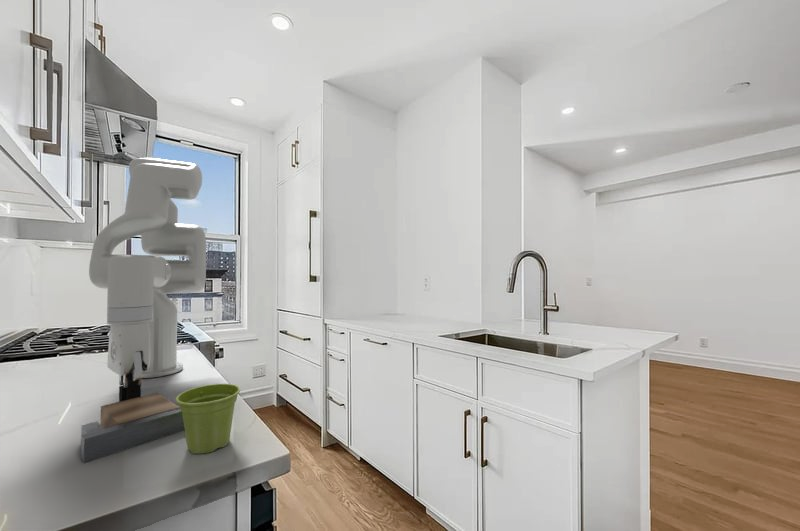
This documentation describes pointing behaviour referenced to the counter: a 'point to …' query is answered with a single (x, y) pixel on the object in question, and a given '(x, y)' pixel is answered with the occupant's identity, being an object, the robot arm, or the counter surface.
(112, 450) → the stop bracket
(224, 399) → the plant pot
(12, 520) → the counter surface
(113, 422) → the walnut slab
